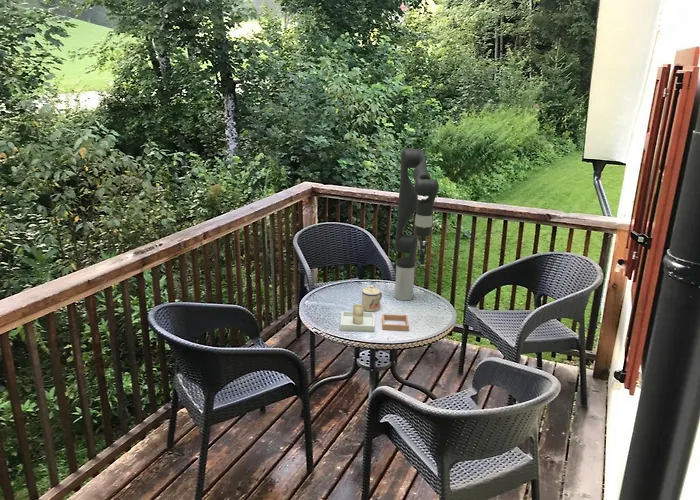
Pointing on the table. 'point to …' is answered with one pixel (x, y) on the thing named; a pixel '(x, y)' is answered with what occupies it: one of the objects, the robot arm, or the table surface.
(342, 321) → the pale green tray
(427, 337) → the table surface
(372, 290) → the teacup with lid
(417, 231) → the robot arm
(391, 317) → the orange brown tray
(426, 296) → the table surface
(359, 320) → the birch cylinder
